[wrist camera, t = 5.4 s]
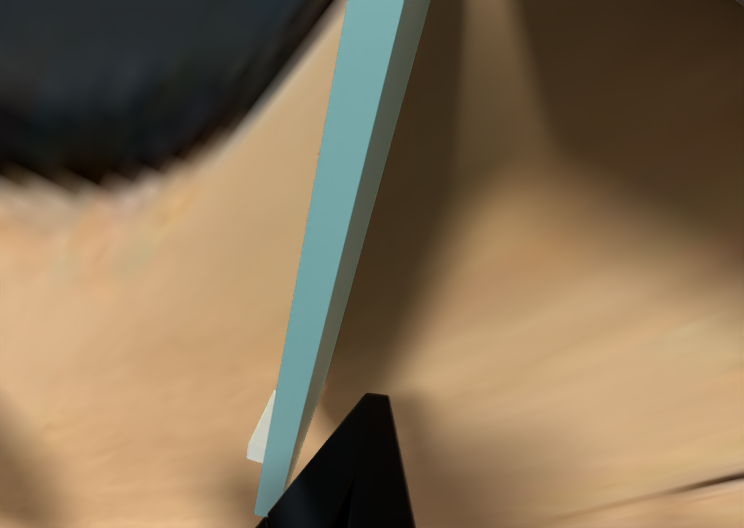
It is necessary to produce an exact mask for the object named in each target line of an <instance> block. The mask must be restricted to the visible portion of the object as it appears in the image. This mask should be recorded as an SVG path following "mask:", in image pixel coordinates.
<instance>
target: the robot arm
mask: <svg viewBox="0 0 744 528" xmlns="http://www.w3.org/2000/svg"><path fill="white" fill-rule="evenodd" d="M255 528H416V525H415V520H414V515H413V510H412V505H411V500H410V495H409V490H408V485H407V480H406V475H405V470H404V465H403V460H402V456H401V451H400V446H399V441H398V436H397V431H396V426H395V421H394V416H393V411H392V406H391V401H390V397H389V396H388V395H383V394H375V393H366V394H365V395H364V396H363V397H362V398H361V400H360V401H359V402H358V403H357V404H356V406H355V407H354V408H353V409H352V410H351V412H350V413H349V414H348V415H347V417H346V418H345V419H344V420H343V421H342V423H341V424H340V425H339V426H338V428H337V429H336V430H335V431H334V432H333V434H332V435H331V436H330V437H329V439H328V440H327V441H326V442H325V443H324V445H323V446H322V447H321V448H320V450H319V451H318V452H317V453H316V454H315V456H314V457H313V458H312V459H311V460H310V462H309V463H308V464H307V465H306V467H305V468H304V469H303V470H302V471H301V473H300V474H299V475H298V476H297V478H296V479H295V480H294V481H293V482H292V484H291V485H290V486H289V487H288V489H287V490H286V491H285V492H284V493H283V495H282V496H281V497H280V498H279V499H278V501H277V502H276V503H275V504H274V506H273V507H272V508H271V509H270V510H269V512H268V513H267V516H265V517H263V519H262V520H261V521H260V522H259V524H258V525H257V526H256V527H255Z"/></svg>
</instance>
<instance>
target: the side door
mask: <svg viewBox="0 0 744 528" xmlns="http://www.w3.org/2000/svg"><path fill="white" fill-rule="evenodd" d="M430 1H431V0H347V5H346V11H345V16H344V22H343V27H342V33H341V38H340V43H339V49H338V54H337V60H336V65H335V71H334V76H333V82H332V87H331V93H330V98H329V104H328V109H327V115H326V120H325V126H324V131H323V137H322V142H321V148H320V153H319V158H318V164H317V169H316V175H315V180H314V186H313V191H312V197H311V202H310V208H309V213H308V219H307V224H306V230H305V235H304V241H303V246H302V252H301V257H300V262H299V268H298V273H297V279H296V284H295V290H294V295H293V301H292V306H291V312H290V317H289V323H288V328H287V334H286V339H285V345H284V350H283V356H282V361H281V367H280V372H279V377H278V383H277V388H276V391H275V390H274V391H273V393H272V396H271V398H270V400H269V402H268V404H267V406H266V408H265V410H264V412H263V414H262V416H261V419H260V421H259V423H258V425H257V427H256V429H255V431H254V433H253V435H252V437H251V439H250V442H249V444H248V450H247V457H246V458H247V459H250V460H253V461H256V462H259V463H262V464H263V465H262V471H261V476H260V482H259V487H258V492H257V498H256V503H255V509H254V514H255V515H258V516H261V517H265V516H267V513H268V512H269V510H270V509H271V508H272V507H273V506H274V504H275V503H276V502H277V501H278V499H279V498H280V497H281V496H282V495H283V493H284V492H285V491H286V490H287V488H288V485H289V482H290V479H291V477H292V474H293V471H294V468H295V465H296V462H297V460H298V457H299V454H300V451H301V448H302V445H303V443H304V440H305V437H306V434H307V431H308V428H309V425H310V423H311V420H312V417H313V414H314V411H315V408H316V406H317V403H318V400H319V397H320V394H321V391H322V389H323V386H324V383H325V380H326V377H327V374H328V370H329V367H330V363H331V359H332V356H333V352H334V348H335V345H336V341H337V338H338V334H339V330H340V327H341V323H342V319H343V316H344V312H345V309H346V305H347V301H348V298H349V294H350V290H351V287H352V283H353V280H354V276H355V272H356V269H357V265H358V262H359V258H360V254H361V251H362V247H363V243H364V240H365V236H366V233H367V229H368V225H369V222H370V218H371V214H372V211H373V207H374V204H375V200H376V196H377V193H378V189H379V185H380V182H381V178H382V175H383V171H384V167H385V164H386V160H387V156H388V153H389V149H390V146H391V142H392V138H393V135H394V131H395V127H396V124H397V120H398V117H399V113H400V109H401V106H402V102H403V98H404V95H405V91H406V88H407V84H408V80H409V77H410V73H411V70H412V66H413V62H414V59H415V55H416V51H417V48H418V44H419V41H420V37H421V33H422V30H423V26H424V22H425V19H426V15H427V12H428V8H429V4H430Z"/></svg>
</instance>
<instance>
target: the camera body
mask: <svg viewBox="0 0 744 528" xmlns="http://www.w3.org/2000/svg"><path fill="white" fill-rule="evenodd" d="M735 1H736V2H738V3H740V4H741V5H743V6H744V0H735Z"/></svg>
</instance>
